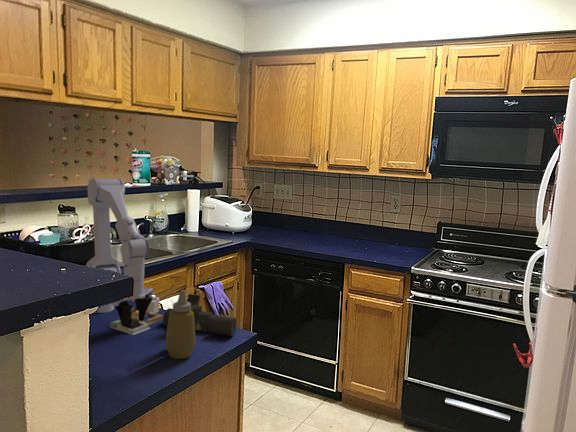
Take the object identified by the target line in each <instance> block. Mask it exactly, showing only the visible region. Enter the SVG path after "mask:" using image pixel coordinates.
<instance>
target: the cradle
mask: <svg viewBox="0 0 576 432" xmlns="http://www.w3.org/2000/svg"><path fill="white" fill-rule="evenodd" d="M109 325H110V326H109V328H111V329H114V330H117V331H120V332H123V333H126V334H128V335H132V336H133V335H134V336H135V335H137V334H140V333H142V332H145V331H148V330H150V329H151V327H149V325H147V324H146V323H143V322H140V321H139V327H137V328H134V329H130V328H127V327H124V326H122V325H121V321H120V318H119V319H117V320H114V321H110V323H109Z"/></svg>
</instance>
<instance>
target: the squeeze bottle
mask: <svg viewBox="0 0 576 432" xmlns="http://www.w3.org/2000/svg"><path fill="white" fill-rule="evenodd" d="M187 299H188V298H187V294H186V290H185V289H181V290H180V291H179V295H178V299H177V301H175V302H173V304H172V305H173V306H172V309H173V310H172V311H171V312H170V313H169V319H168V326H166V327H167V328H166V334H165V335H166V336H165V341H164V343H165V347H166V351H167V353H168V354H167V355H168V357H170V358H171V359H175V360H184V359H188V358H189V357H191V356H192V353H193V350H194V347H195V346H196V343H197V342H196V331H195V321H194V312H193V311H191V303H189V302H187Z"/></svg>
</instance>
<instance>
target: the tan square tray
mask: <svg viewBox="0 0 576 432" xmlns="http://www.w3.org/2000/svg"><path fill="white" fill-rule="evenodd" d="M148 316H151V318H147V319H146V320H143V321H140V322H143V323H146V324H147V325H148V326H150V325H152V324H155V323H157V322H158V323H159V322H160V321H163V316H164V314H160V313H157V312H156V313H152V312H149V311H146V314H145V317H148Z"/></svg>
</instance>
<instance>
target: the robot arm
mask: <svg viewBox="0 0 576 432" xmlns="http://www.w3.org/2000/svg"><path fill="white" fill-rule="evenodd" d="M125 185H126V184H125V182H124V181H123V179H121V178H94V177H93V178H91V179H90V180H89V182H88V184H87V201H88V203H87V204H89V205H91V206H92V211H93V213H92V214H93V215H92V217H93V234H94V235H93V237H94V238H93V239H94V240H93V241H94V256H93V257H92V258H91V259H89V260H88V261H87V262H86V266H88V267H92V268H97V269H104V270H111V271H114V272H117V273H120V274H121V275H122V272H121V271H122V270H121V268H120V262H119V260H118V259H117V258H115V257H114V256H112V242H111V238H112V237H111V219H110V218H111V216H110V214H111V213H110V210H111V212H112V214H113V215H114V218H115V220H116V223H115V226H114V227H115V229H116V232H117V235H118V237H119V241H120V243H121V245H120V253H121V259H122V260H121V261H122V264H123V276H124V275H128V276H132V277H133V279H134V293H133V296H131V297H129V298H126V299H123V300H120V301H117V302H114V303H111V304H108V305H104V306H101V307H100V308H98V311H97V312H96V313H101V314H102V313H110V312H112V311H114V310H116V312H117V314H118V316H119V317H118V318H119V319H120V321H121V325H122V326H124V327H128V325H129V316H130V311H131V308H133V305H132V304H129V302H131V301H134V302H135V308H137V309H139V321H145V317H146V316H145V314H146V311H147V308H148V306H149V304H150V303H151V301H152V297H149V295H153V293H154V288H152V287H144V286H145V265H146V263H145V259H146V257H148V255H149V252H150V245H149V241H148V239H147V238H145V237H144V236H143V234H141V233H140V231H139V229H138V226H137V224H136V221H135V219H134V218H133V217H129V213H128V208H127V206H126V203H125V198H124V197H125V192H126V186H125ZM154 294H155V293H154Z"/></svg>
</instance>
